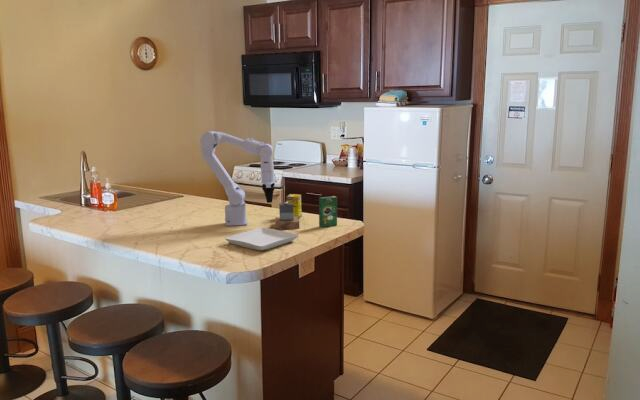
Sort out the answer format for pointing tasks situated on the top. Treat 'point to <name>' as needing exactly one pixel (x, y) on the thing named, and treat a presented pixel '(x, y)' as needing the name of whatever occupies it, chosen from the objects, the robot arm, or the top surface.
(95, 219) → the top surface
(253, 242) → the salad plate
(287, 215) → the block
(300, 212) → the supplement box
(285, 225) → the stand
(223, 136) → the robot arm
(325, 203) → the coffee box
